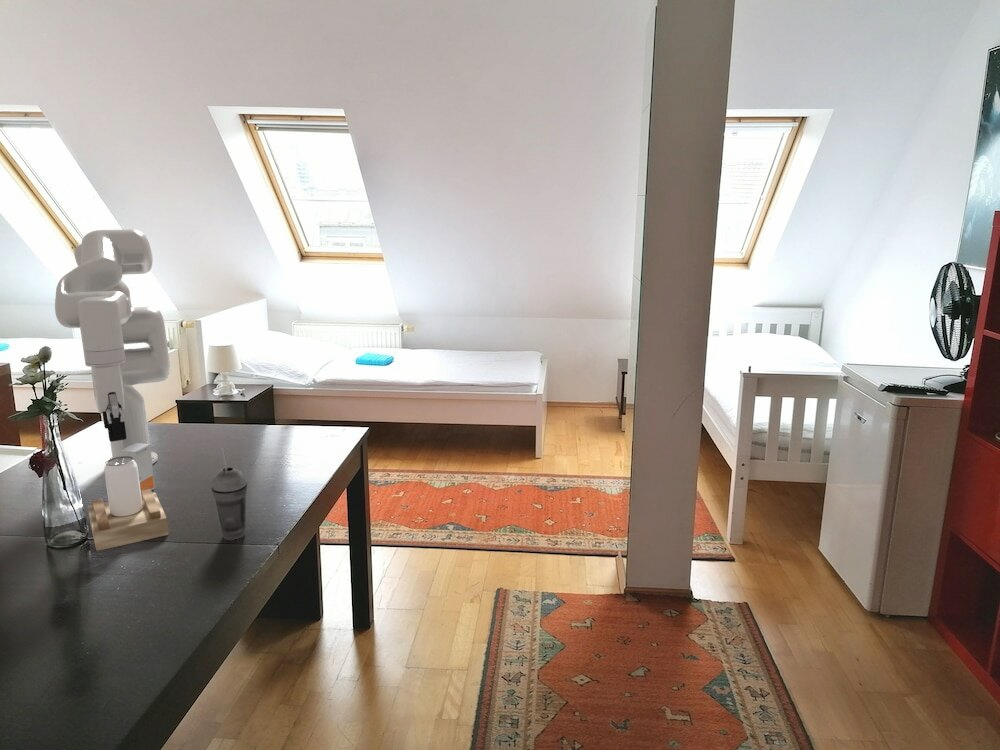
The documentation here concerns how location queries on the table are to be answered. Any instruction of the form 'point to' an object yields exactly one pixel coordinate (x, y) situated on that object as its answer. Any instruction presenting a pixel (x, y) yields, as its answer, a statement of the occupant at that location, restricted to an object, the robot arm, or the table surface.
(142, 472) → the skincare box
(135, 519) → the plinth
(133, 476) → the can
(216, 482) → the beverage cup
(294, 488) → the table surface
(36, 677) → the table surface
